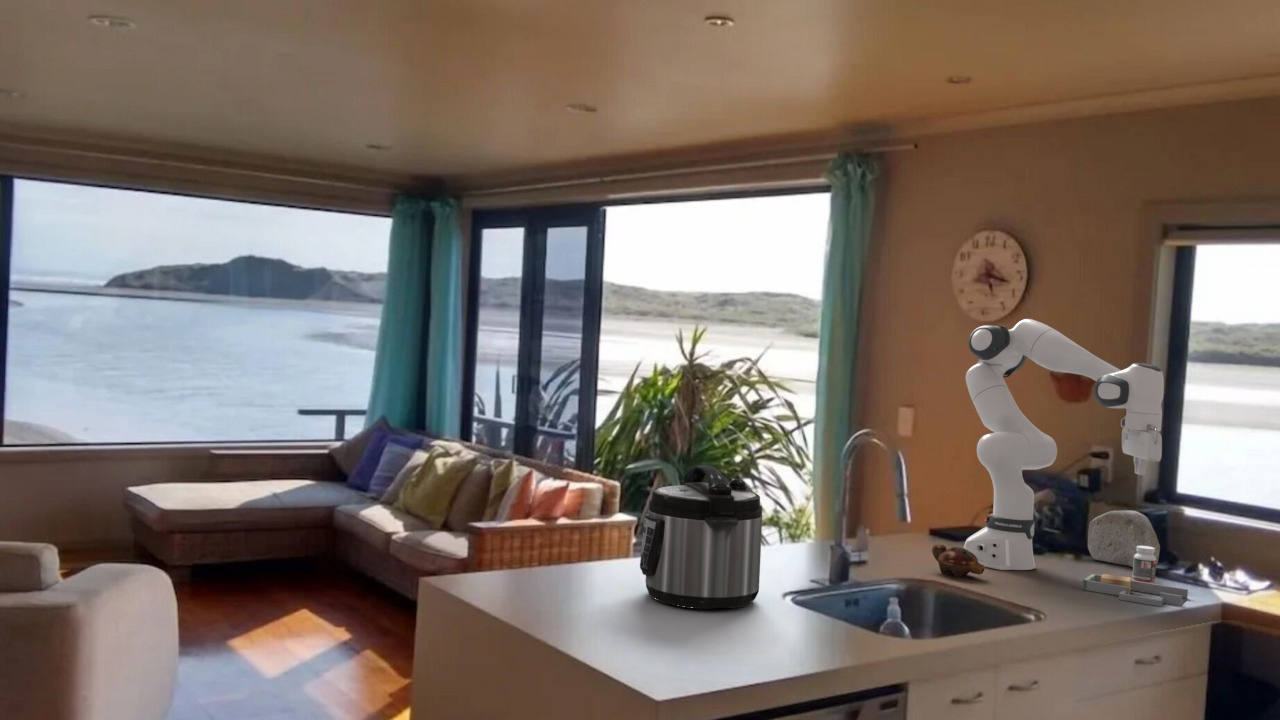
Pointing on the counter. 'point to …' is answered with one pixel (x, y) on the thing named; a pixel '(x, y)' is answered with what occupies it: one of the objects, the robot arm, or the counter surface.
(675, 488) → the pressure cooker
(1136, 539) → the decorative stone
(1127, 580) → the oak block
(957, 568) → the decorative turtle
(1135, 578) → the pill bottle
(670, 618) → the counter surface
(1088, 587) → the channel
